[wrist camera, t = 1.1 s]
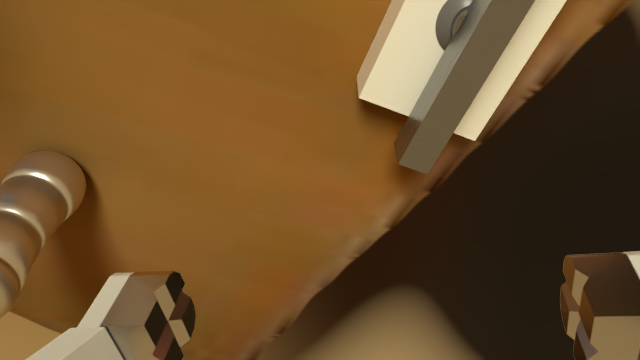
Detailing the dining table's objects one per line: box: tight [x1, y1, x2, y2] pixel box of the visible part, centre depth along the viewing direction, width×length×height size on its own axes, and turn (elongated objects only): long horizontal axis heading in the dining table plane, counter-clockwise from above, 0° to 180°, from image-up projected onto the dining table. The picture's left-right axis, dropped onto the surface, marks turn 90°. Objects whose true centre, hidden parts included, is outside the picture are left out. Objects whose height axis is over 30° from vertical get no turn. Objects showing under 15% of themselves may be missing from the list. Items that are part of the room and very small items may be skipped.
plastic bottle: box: [0, 151, 86, 318], centre depth 40 cm, size 6×7×20 cm
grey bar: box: [394, 0, 535, 174], centre depth 34 cm, size 3×20×4 cm, turn 159°
